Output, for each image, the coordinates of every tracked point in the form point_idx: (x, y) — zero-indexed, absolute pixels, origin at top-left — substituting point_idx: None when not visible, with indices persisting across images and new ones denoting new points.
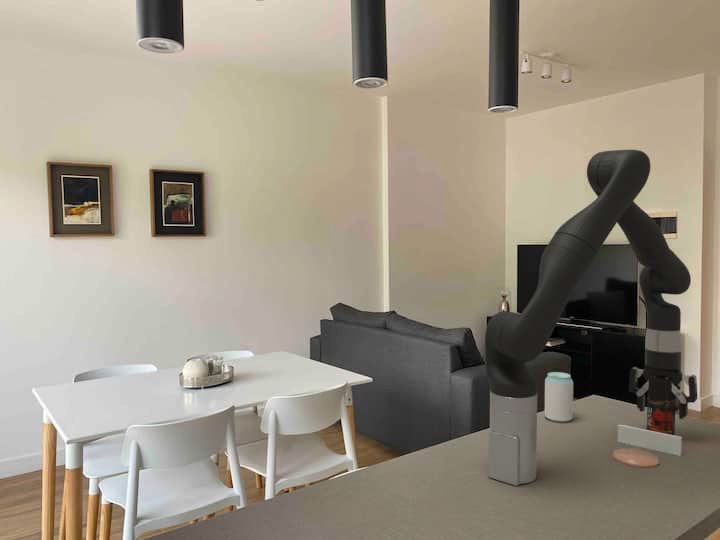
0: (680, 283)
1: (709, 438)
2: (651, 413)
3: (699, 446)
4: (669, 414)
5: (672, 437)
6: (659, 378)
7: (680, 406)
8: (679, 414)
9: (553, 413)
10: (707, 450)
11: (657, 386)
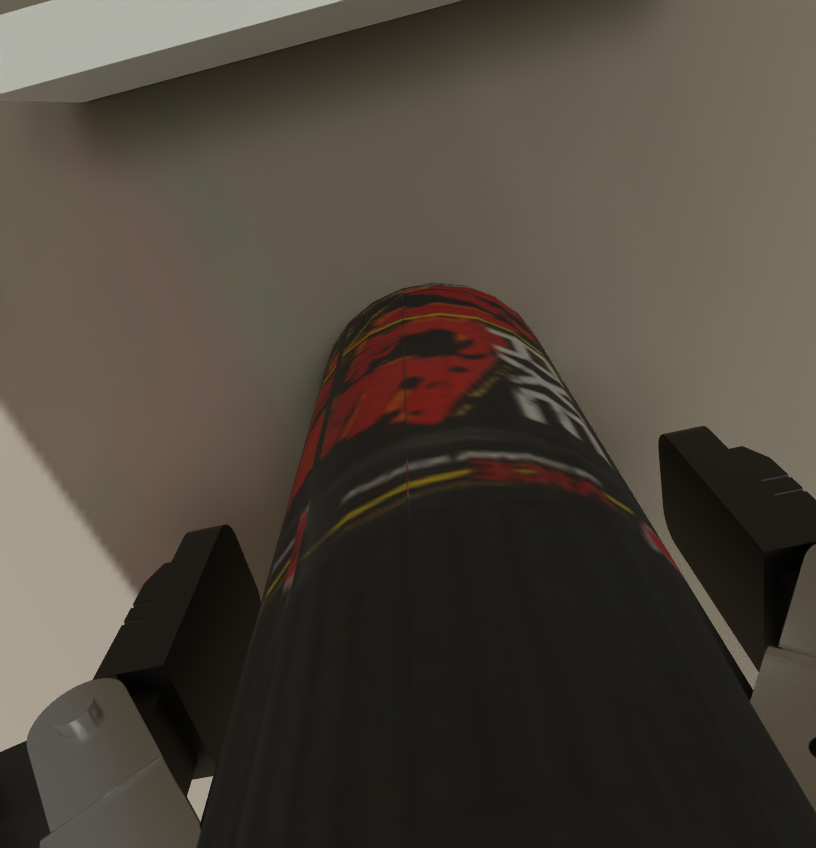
0: None
1: None
2: (515, 383)
3: (138, 447)
4: (300, 473)
5: (49, 7)
6: None
7: (165, 634)
8: (209, 549)
9: None
10: (50, 410)
11: (488, 760)
